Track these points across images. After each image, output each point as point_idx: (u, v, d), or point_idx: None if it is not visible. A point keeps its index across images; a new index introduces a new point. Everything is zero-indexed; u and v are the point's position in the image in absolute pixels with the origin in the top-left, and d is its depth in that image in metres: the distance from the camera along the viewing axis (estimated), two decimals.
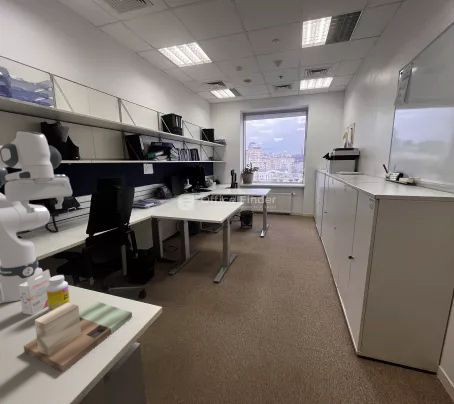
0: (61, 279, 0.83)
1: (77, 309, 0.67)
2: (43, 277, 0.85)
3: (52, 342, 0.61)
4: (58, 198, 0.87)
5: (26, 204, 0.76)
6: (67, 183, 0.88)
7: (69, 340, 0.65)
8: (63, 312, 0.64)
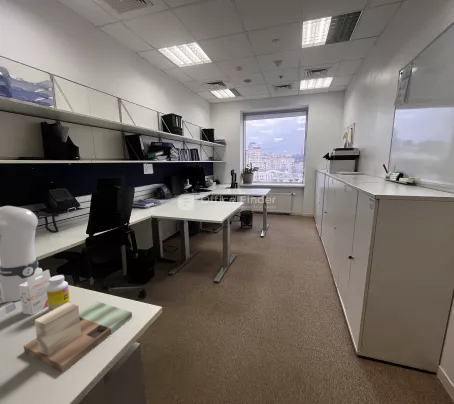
0: (61, 279, 0.83)
1: (77, 309, 0.67)
2: (43, 277, 0.85)
3: (52, 342, 0.61)
4: None
5: None
6: None
7: (69, 340, 0.65)
8: (63, 312, 0.64)
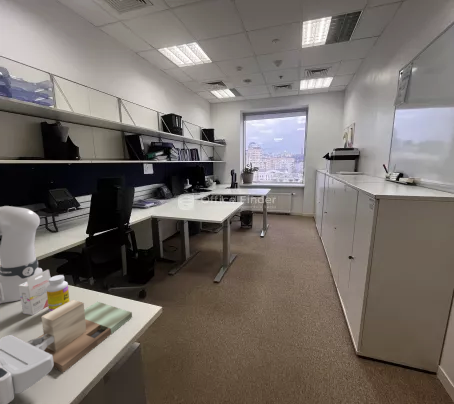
0: (61, 279, 0.83)
1: (82, 306, 0.69)
2: (43, 277, 0.85)
3: (59, 338, 0.62)
4: None
5: (41, 344, 0.58)
6: None
7: (75, 336, 0.67)
8: (69, 309, 0.65)
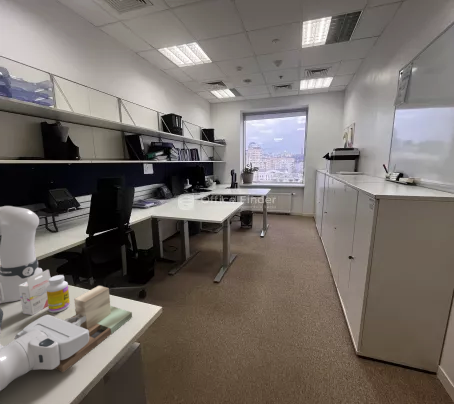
0: (61, 279, 0.83)
1: (108, 291, 0.77)
2: (43, 277, 0.85)
3: (89, 318, 0.71)
4: None
5: (76, 322, 0.67)
6: (30, 324, 0.64)
7: (102, 317, 0.76)
8: (97, 293, 0.74)
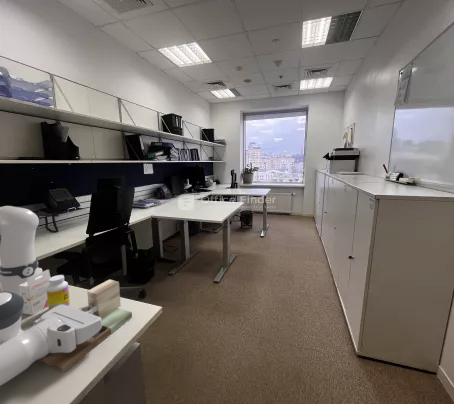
0: (61, 279, 0.83)
1: (118, 284, 0.82)
2: (43, 277, 0.85)
3: (101, 309, 0.76)
4: None
5: (89, 310, 0.71)
6: (46, 313, 0.69)
7: (112, 309, 0.80)
8: (108, 286, 0.79)
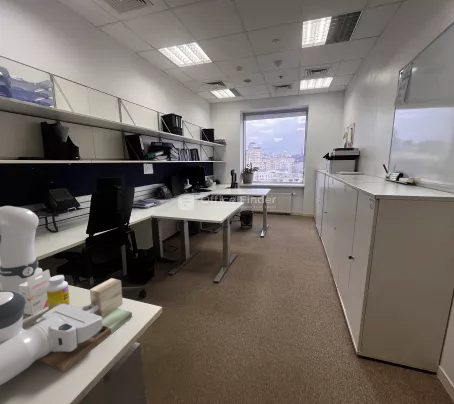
0: (61, 279, 0.83)
1: (120, 283, 0.83)
2: (43, 277, 0.85)
3: (104, 307, 0.77)
4: None
5: (90, 310, 0.72)
6: (48, 312, 0.69)
7: (114, 307, 0.81)
8: (110, 285, 0.80)
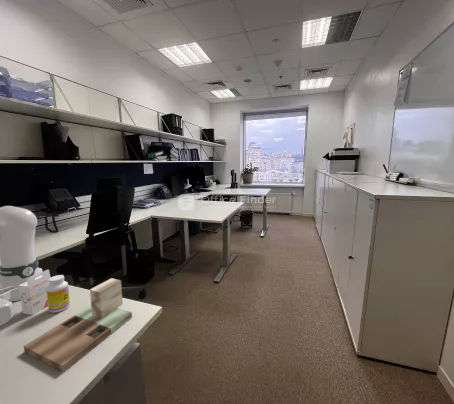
0: (61, 279, 0.83)
1: (120, 283, 0.83)
2: (43, 277, 0.85)
3: (104, 307, 0.77)
4: None
5: (3, 294, 0.51)
6: None
7: (114, 307, 0.81)
8: (110, 285, 0.80)
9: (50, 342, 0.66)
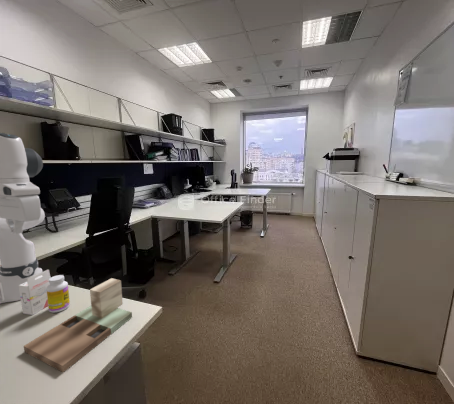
0: (61, 279, 0.83)
1: (120, 283, 0.83)
2: (43, 277, 0.85)
3: (104, 307, 0.77)
4: None
5: None
6: None
7: (114, 307, 0.81)
8: (110, 285, 0.80)
9: (50, 342, 0.66)
